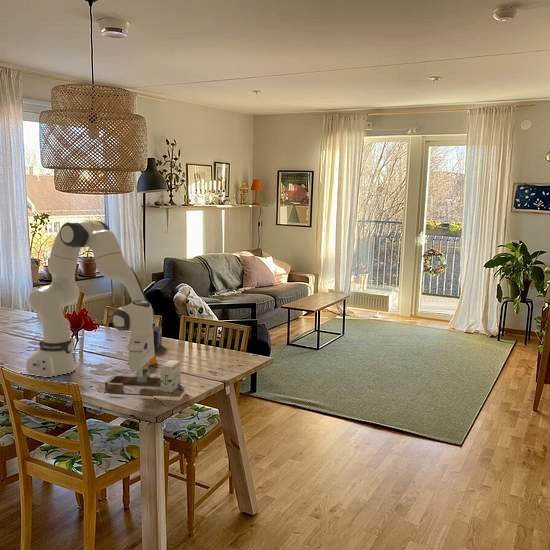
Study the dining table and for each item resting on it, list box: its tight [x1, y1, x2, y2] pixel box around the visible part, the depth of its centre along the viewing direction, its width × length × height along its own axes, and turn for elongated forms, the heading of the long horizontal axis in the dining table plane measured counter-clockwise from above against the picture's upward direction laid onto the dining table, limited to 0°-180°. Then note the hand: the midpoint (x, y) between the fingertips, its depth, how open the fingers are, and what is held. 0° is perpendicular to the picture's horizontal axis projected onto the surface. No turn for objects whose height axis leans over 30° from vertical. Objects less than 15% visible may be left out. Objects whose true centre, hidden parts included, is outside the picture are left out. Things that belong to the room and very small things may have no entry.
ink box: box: [159, 359, 181, 393], centre depth 220 cm, size 9×5×12 cm, turn 163°
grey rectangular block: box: [136, 365, 151, 382], centre depth 220 cm, size 4×4×6 cm
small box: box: [152, 325, 163, 352], centre depth 278 cm, size 11×6×10 cm, turn 178°
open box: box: [103, 374, 161, 397], centre depth 221 cm, size 20×11×4 cm, turn 85°
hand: (143, 374), depth 220 cm, fingers closed on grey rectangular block, 4 cm apart
